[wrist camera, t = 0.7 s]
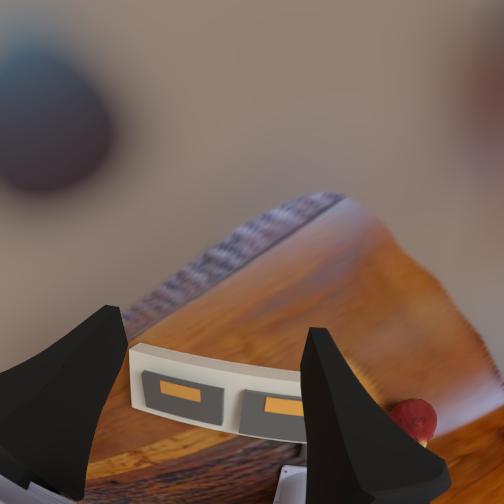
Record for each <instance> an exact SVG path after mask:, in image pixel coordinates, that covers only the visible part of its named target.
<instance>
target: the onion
mask: <svg viewBox="0 0 504 504" xmlns="http://www.w3.org/2000/svg"><path fill="white" fill-rule="evenodd" d="M388 416H389V417H390V418H391V419H392V420H393V421H394V422H395V423H396V424H397V425H398V426H399V427H400V428H402V429H403V430H404V431H405V432H406V433H407V434H408V435H409V436H411V437H412V438H413V439H414V440H416V441H417V442H418V443H420V444H421V445H422V446H424V447H425V448H426V444H427V442H428V441H429V440H430V439H431V438H432V436H433V434H434V432H435V429H436V426H437V415H436V412H435V410H434V409H433V407H432V406H431V405H430V404H429V403H428V402H426V401H424V400H422V399H412V398H411V399H408V400H404V401H402V402H400V403H399V404H397V405H396V406H395V407H394V408H393V409H392V410H391V411H390V413H389V415H388Z"/></svg>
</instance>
